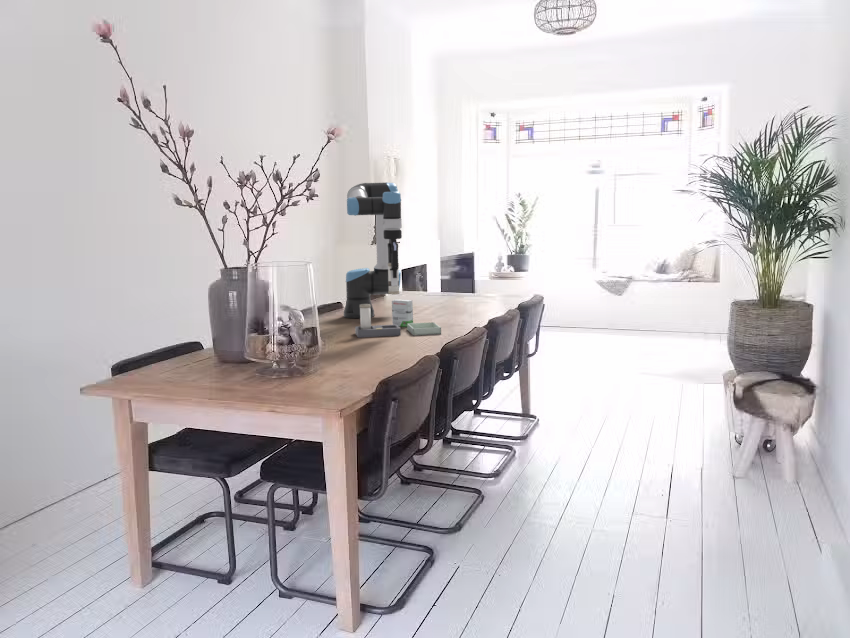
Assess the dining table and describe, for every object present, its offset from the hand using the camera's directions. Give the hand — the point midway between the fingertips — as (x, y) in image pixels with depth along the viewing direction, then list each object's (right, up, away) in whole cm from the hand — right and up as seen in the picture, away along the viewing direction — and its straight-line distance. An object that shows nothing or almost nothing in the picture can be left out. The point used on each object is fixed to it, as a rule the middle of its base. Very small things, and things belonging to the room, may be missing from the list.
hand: (393, 285), depth 297 cm
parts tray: (+13, -20, +6) cm, 24 cm away
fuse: (-12, -21, +1) cm, 24 cm away
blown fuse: (0, -4, +1) cm, 4 cm away
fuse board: (-7, -21, +2) cm, 22 cm away
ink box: (+3, -18, +22) cm, 28 cm away
